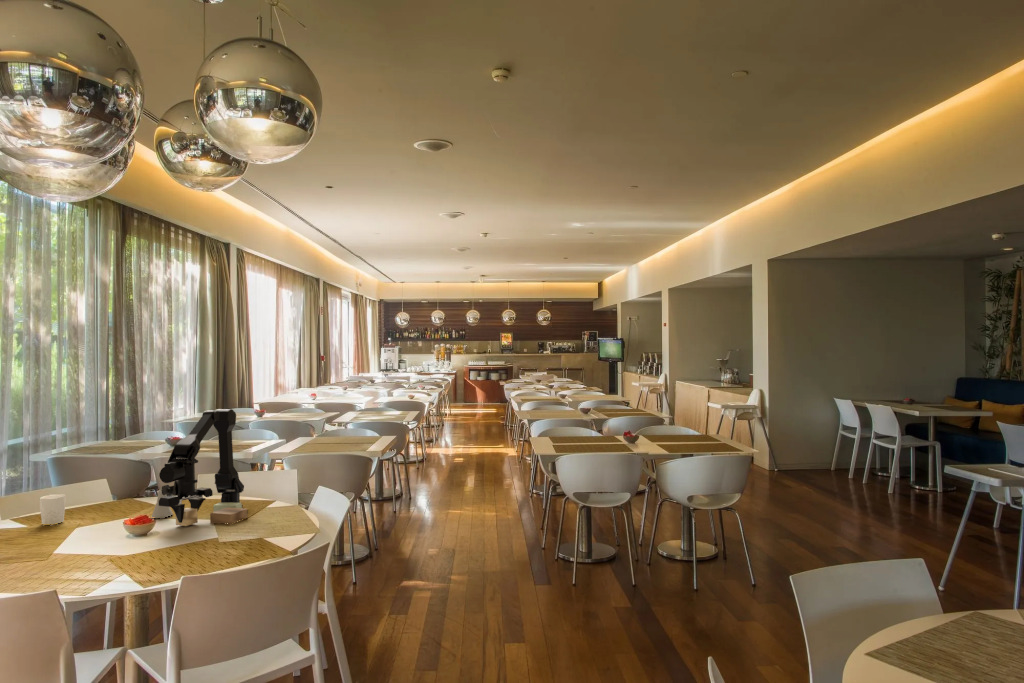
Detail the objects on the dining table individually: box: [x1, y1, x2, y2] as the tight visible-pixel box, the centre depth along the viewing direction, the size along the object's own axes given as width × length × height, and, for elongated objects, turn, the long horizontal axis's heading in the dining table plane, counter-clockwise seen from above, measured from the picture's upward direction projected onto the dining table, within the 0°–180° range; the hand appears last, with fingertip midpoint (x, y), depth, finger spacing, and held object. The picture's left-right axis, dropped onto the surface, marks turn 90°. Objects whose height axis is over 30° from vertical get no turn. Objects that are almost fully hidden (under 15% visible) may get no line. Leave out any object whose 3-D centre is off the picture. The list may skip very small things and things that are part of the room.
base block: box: [209, 507, 249, 525], centre depth 246 cm, size 9×9×4 cm
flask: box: [151, 489, 174, 519], centre depth 253 cm, size 7×7×10 cm
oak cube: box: [175, 507, 199, 527], centre depth 240 cm, size 5×5×5 cm
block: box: [212, 501, 243, 512], centre depth 256 cm, size 4×9×4 cm, turn 85°
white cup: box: [39, 493, 66, 525], centre depth 246 cm, size 8×8×10 cm
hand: (186, 520), depth 240 cm, fingers closed on oak cube, 5 cm apart
